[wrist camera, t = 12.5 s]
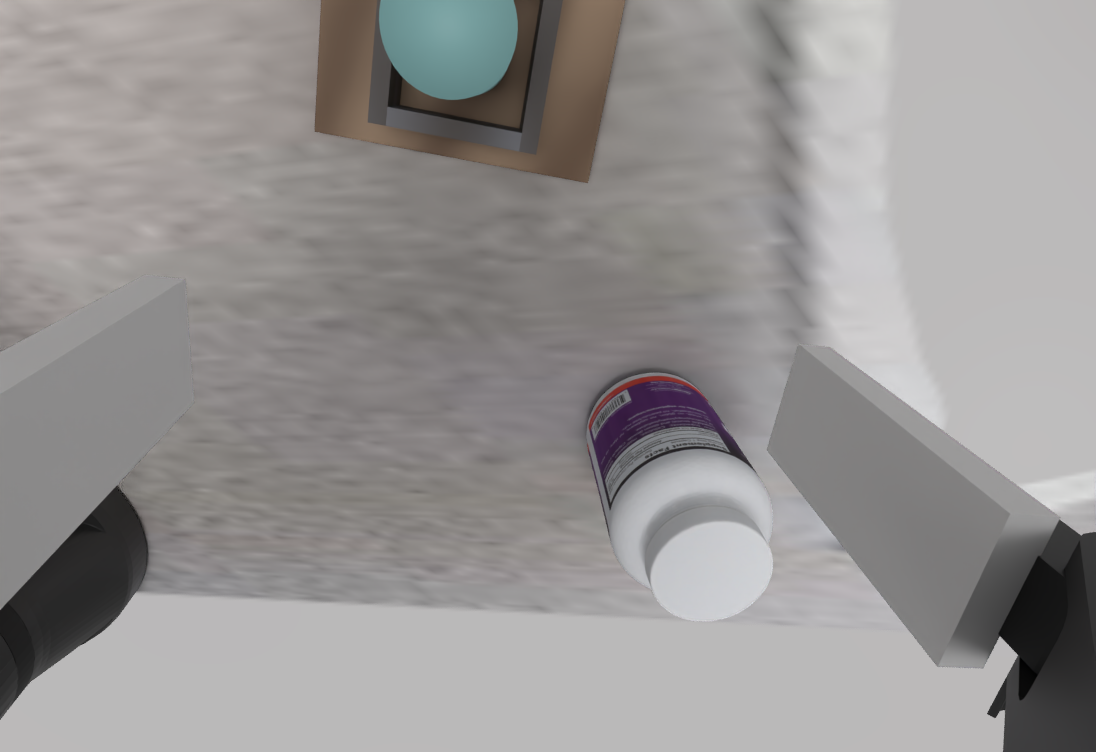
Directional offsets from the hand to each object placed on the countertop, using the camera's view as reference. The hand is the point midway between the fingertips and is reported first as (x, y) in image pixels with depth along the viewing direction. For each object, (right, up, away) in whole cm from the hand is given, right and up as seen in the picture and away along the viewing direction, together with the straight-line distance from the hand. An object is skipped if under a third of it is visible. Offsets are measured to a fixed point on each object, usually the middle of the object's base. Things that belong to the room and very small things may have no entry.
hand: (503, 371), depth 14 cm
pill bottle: (+7, -3, +28) cm, 29 cm away
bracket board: (-3, +17, +18) cm, 25 cm away
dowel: (-3, +16, +18) cm, 24 cm away
